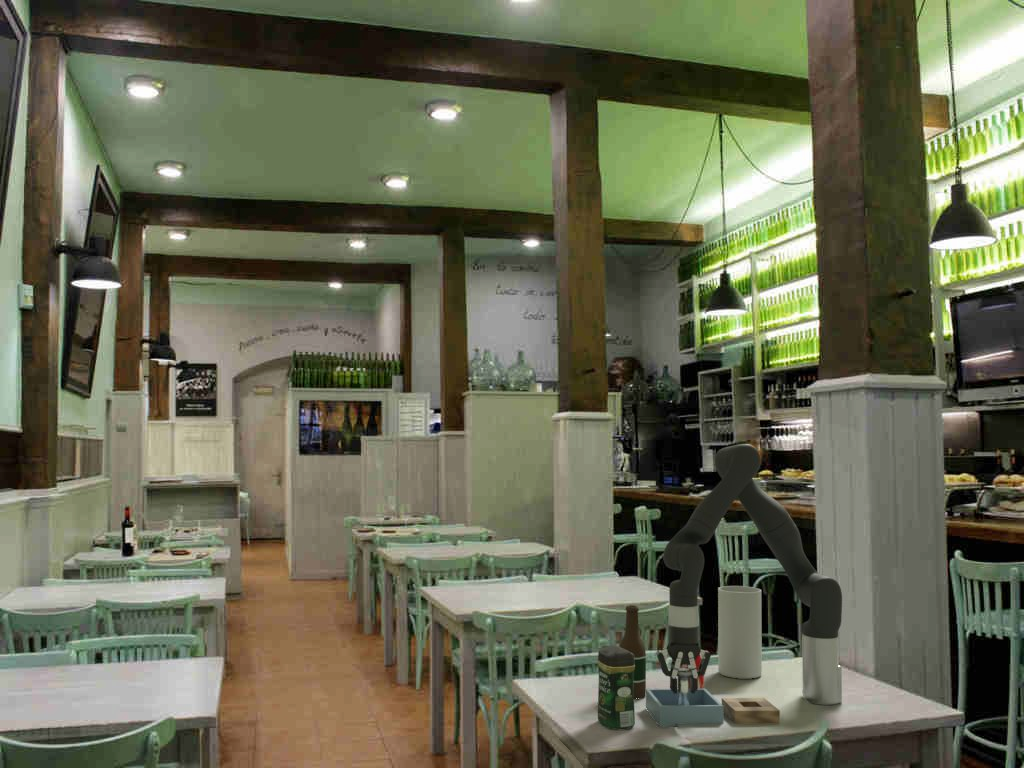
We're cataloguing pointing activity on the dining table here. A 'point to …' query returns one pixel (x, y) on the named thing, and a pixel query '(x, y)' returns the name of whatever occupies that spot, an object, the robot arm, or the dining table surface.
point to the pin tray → (683, 707)
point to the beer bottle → (635, 650)
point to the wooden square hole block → (750, 710)
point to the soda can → (697, 662)
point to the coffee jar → (616, 687)
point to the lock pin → (683, 685)
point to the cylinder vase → (739, 632)
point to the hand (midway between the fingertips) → (683, 692)
